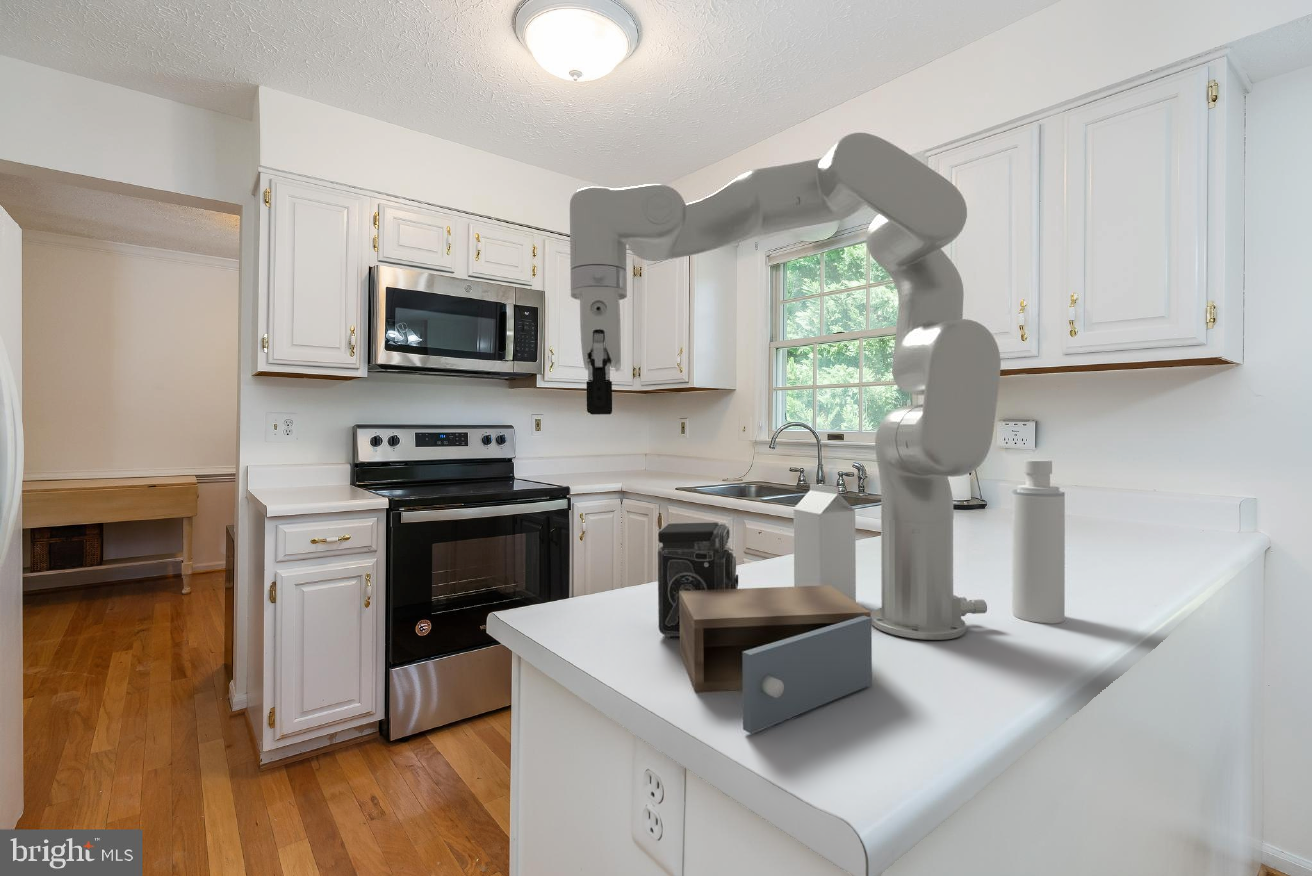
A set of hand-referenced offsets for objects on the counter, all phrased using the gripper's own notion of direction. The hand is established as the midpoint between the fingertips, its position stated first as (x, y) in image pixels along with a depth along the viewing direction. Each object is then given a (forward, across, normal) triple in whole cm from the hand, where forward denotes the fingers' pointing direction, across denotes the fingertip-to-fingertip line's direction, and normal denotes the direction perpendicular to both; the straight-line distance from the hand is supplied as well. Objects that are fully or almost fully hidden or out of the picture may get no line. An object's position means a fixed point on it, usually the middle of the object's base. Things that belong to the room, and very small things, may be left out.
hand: (600, 413), depth 85 cm
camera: (+31, +3, -14) cm, 34 cm away
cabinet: (+31, -11, -20) cm, 38 cm away
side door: (+30, -23, -22) cm, 44 cm away
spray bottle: (+31, +4, -65) cm, 72 cm away
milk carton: (+31, +16, -36) cm, 51 cm away
